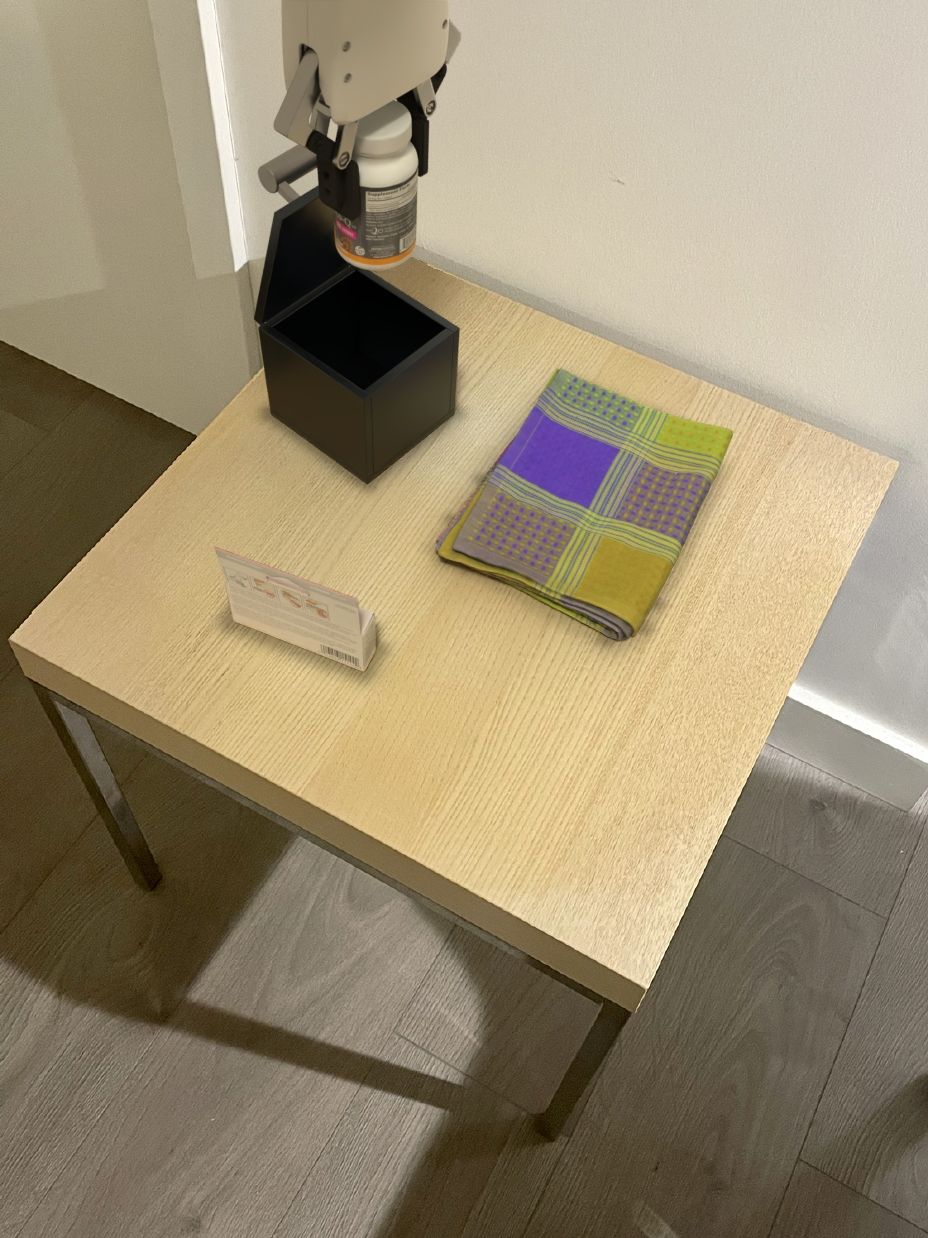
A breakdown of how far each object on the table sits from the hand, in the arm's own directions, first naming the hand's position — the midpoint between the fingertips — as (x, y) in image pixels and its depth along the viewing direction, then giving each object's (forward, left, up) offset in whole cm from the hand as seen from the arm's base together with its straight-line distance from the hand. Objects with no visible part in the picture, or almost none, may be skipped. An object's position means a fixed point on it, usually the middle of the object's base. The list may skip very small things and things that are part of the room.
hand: (374, 185), depth 72 cm
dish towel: (+7, -18, -25) cm, 31 cm away
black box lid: (+1, +6, -8) cm, 11 cm away
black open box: (+1, +3, -25) cm, 25 cm away
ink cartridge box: (-18, -10, -25) cm, 32 cm away
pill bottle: (0, 0, -5) cm, 5 cm away
